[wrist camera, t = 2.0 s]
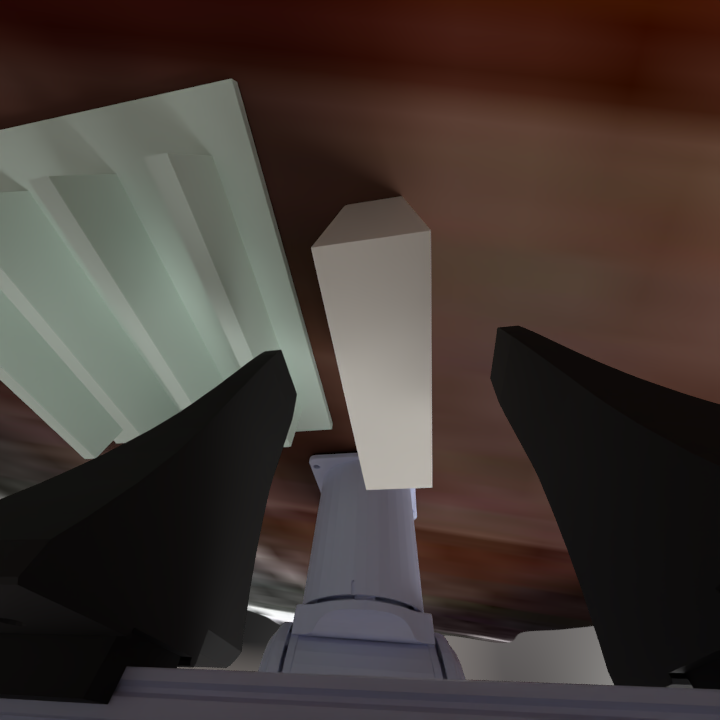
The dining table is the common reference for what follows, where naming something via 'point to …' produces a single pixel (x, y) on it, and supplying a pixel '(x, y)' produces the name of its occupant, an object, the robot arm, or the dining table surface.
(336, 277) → the tile plate
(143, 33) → the dining table surface
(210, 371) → the dish rack
